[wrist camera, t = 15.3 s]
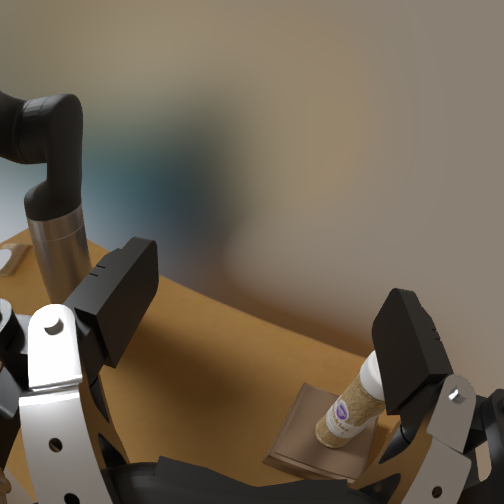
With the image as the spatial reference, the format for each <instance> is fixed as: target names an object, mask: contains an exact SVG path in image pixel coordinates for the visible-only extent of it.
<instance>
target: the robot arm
mask: <svg viewBox="0 0 504 504" xmlns="http://www.w3.org/2000/svg"><path fill="white" fill-rule="evenodd" d="M82 135H83V113H82V107H81V103H80V101H79V99H78V98H77V97H76V96H75V95H73V94H60V95H53V96H48V97H42V98H37V99H32V100H21V99H17V98H14V97H11V96H9V95H7V94H4V93H2V92H1V91H0V157H2V158H5V159H8V160H10V161H13V162H16V163H20V164H38V163H39V164H40V163H47V180H46V181H44V182H42V183H40V184H38V185H37V186H35V187H33V188H32V189H30V190H29V191H28V192H27V194H26V195H25V198H24V206H25V212H26V217H27V222H28V226H29V231H30V235H31V239H32V243H33V247H34V251H35V254H36V258H37V261H38V265H39V268H40V271H41V275H42V278H43V281H44V284H45V287H46V290H47V293H48V295H49V298H50V301H51V303H52V305H48V306H46V307H44V308H42V309H40V310H39V311H38V312H37V313H36V314H35V315H34V316H27V315H18V314H15V313H14V311H13V309H12V307H11V305H10V303H9V302H8V301H6V300H4V299H0V361H1V363H2V364H3V365H4V368H3V369H2V371H1V373H0V504H7V500H6V494H8V493H10V492H11V484H10V482H9V480H8V479H7V478H5V475H4V472H3V471H4V468H5V465H6V462H7V459H8V457H9V454H10V451H11V448H12V446H13V443H14V441H15V438H16V436H17V433H18V431H19V428H20V426H21V428H22V435H23V442H24V448H25V453H26V458H27V463H28V468H29V472H30V476H31V480H32V484H33V488H34V491H35V494H36V498H37V501H38V502H37V503H34V504H504V390H503V389H497V390H496V391H494V393H492V394H491V395H490V396H489V397H488V398H485V397H482V396H479V395H476V394H475V391H474V388H473V386H472V385H471V383H470V382H469V381H468V380H467V379H466V378H464V377H463V376H461V375H457V374H454V373H453V370H452V367H451V365H450V362H449V359H448V357H447V354H446V352H445V349H444V346H443V344H442V342H441V341H440V336H439V334H438V332H436V327H435V325H434V323H433V321H432V318H431V317H430V316H429V314H428V313H427V312H426V311H425V310H424V308H423V307H421V304H420V302H419V300H418V298H417V296H416V294H415V292H413V291H409V290H403V289H398V288H394V289H392V290H391V291H390V293H389V295H388V297H387V299H386V300H385V302H384V304H383V306H382V308H381V309H380V311H379V313H378V315H377V316H376V318H375V320H374V322H373V326H372V339H373V344H374V348H375V353H376V357H377V362H378V367H379V372H380V377H381V382H382V388H383V393H384V399H385V405H386V412H387V415H400V418H401V420H400V421H398V422H397V423H396V425H395V427H394V428H393V430H392V432H391V434H390V435H389V437H388V439H387V441H386V442H385V444H384V446H383V447H382V449H381V450H380V452H379V454H378V455H377V457H376V458H375V460H374V461H373V463H372V464H371V466H370V467H369V468H368V469H367V470H366V471H365V472H364V473H362V474H361V475H360V476H359V477H358V478H357V479H356V480H355V481H354V482H353V483H352V484H351V486H350V487H347V479H332V480H300V481H295V482H290V483H284V484H277V485H270V486H262V487H254V486H250V485H247V484H244V483H242V482H239V481H237V480H234V479H231V478H229V477H227V476H224V475H222V474H219V473H217V472H215V471H213V470H210V469H208V468H205V467H201V466H196V465H192V464H188V463H184V462H180V461H177V460H173V459H170V458H166V457H163V456H160V457H159V460H158V463H156V462H139V463H130V461H129V459H128V456H127V454H126V451H125V449H124V446H123V444H122V442H121V440H120V438H119V436H118V434H117V432H116V430H115V427H114V424H113V421H112V418H111V415H110V411H109V408H108V404H107V401H106V397H105V393H104V389H103V385H102V381H101V377H100V374H99V372H100V370H101V368H102V366H103V364H104V365H107V366H109V367H112V368H116V366H117V364H118V362H119V360H120V358H121V356H122V354H123V353H124V351H125V349H126V347H127V345H128V343H129V341H130V339H131V338H132V336H133V334H134V332H135V330H136V328H137V327H138V325H139V323H140V321H141V319H142V317H143V316H144V314H145V312H146V310H147V309H148V307H149V305H150V303H151V302H152V300H153V298H154V296H155V294H156V292H157V288H158V283H159V274H158V255H157V244H156V242H155V241H154V240H148V239H143V238H139V237H133V238H131V239H130V241H129V242H128V243H127V244H126V245H125V246H124V247H123V248H122V249H119V248H117V249H116V250H114V251H112V252H110V253H108V254H106V255H105V256H104V257H103V258H102V259H101V260H100V261H99V262H98V263H97V265H96V267H94V268H93V269H92V266H91V261H90V255H89V250H88V244H87V238H86V232H85V225H84V218H83V210H82V202H81V182H82V160H81V159H82ZM485 441H488V446H489V452H490V459H491V466H492V469H491V473H490V475H489V476H488V478H487V479H486V480H484V481H482V482H480V480H479V477H478V467H477V460H476V453H475V448H476V447H478V446H479V445H481V444H482V443H484V442H485Z"/></svg>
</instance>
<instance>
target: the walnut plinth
mask: <svg viewBox="0 0 504 504" xmlns="http://www.w3.org/2000/svg"><path fill="white" fill-rule="evenodd" d="M339 397H340V396H337V395H334V394H332V393H329V392H327V391H324V390H321V389H319V388H316V387H314V386H311V385H309V384H307V383H304V384H303V386H302V388H301V389H300V391H299V393H298V394H297V396H296V398H295V400H294V402H293V404H292V407H291V409H290V411H289V413H288V415H287V417H286V419H285V421H284V423H283V425H282V427H281V428H280V430H279V432H278V434H277V436H276V438H275V440H274V442H273V444H272V445H271V447H270V449H269V451H268V453H267V454H266V456H265V458H264V460H263V463H265V464H268V465H270V466H272V467H275V468H277V469H280V470H282V471H285V472H288V473H290V474H293V475H296V476H299V477H301V478H304V479H307V480H332V479H347V487H350V486H351V484H352V483H353V482H354V481H355V480H356V479H357V478H358V477H359V476H360V475H361V474H362V473H364V470H365V467H366V464H367V460H368V457H369V453H370V450H371V446H372V442H373V438H374V434H375V430H376V426H377V422H378V417H379V416H378V417H377V418H376V419H374V420H373V421H372V422H371V423H370V424H369V425H368V426H367V427H365V428H364V429H363V430H362V431H361V432H360V433H358V434H357V435H356V436H354V437H353V438H352V439H350V440H349V442H348V443H347V444H345V445H344V446H342V447H338V448H330V447H326V446H325V445H323V444H321V443H320V442H319V440H318V439H317V437H316V433H315V431H316V430H315V428H316V424H317V422H318V421H319V420H320V419H321V418H322V417H324V416H325V414H326V413H327V412H328V410H329V409H330V408H331V406H332V405H333V404H334V403H335V402H336V400H337V399H338V398H339Z"/></svg>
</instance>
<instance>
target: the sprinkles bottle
mask: <svg viewBox="0 0 504 504" xmlns="http://www.w3.org/2000/svg"><path fill="white" fill-rule="evenodd" d="M385 409H386V405H385V399H384V393H383V388H382V382H381V377H380V372H379V367H378V362H377V357H376V353H375V350H374V351H373V352H372V353H371V354H370V356H369V357H368V358H367V359H366V361H365V362H364V364H363V365H362V367H361V370H360V373H359V374H358V375H357V376H356V378H355V379H354V380H353V382H352V383H351V384H350V385H349V387H348V388H347V389H346V390H345V392H344V393H343V394H342V395H341V396H340V397H339V398H338V399H337V400H336V402H335V403H334V404H333V405H332V406H331V408H330V409H329V410H328V412H327V413H326V414H325V416H324V417H322V418H321V419H320V420H319V421H318V422H317V424H316V428H315V430H316V431H315V433H316V437H317V439H318V440H319V442H320V443H321V444H323V445H325V446H326V447H330V448H338V447H342V446H344V445H345V444H347V443H348V442H349V440H350V439H352V438H353V437H354V436H356V435H357V434H358V433H360V432H361V431H362V430H363V429H364V428H365V427H367V426H368V425H369V424H370V423H371V422H372V421H373V420H374V419H376V418H377V417H378V416H379V415H380V414H381V413H382V412H383V411H384V410H385Z"/></svg>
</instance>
